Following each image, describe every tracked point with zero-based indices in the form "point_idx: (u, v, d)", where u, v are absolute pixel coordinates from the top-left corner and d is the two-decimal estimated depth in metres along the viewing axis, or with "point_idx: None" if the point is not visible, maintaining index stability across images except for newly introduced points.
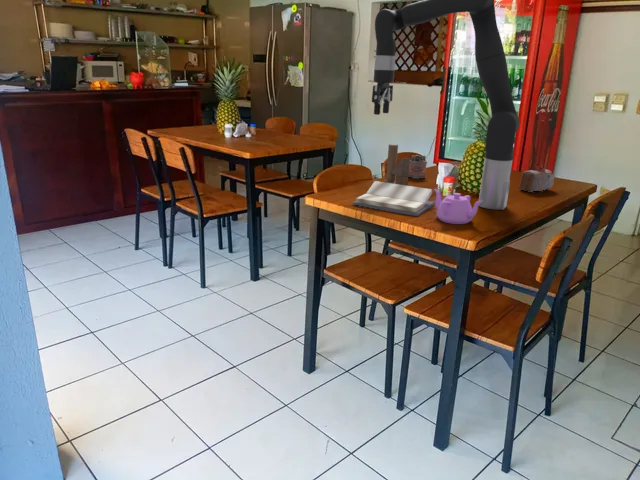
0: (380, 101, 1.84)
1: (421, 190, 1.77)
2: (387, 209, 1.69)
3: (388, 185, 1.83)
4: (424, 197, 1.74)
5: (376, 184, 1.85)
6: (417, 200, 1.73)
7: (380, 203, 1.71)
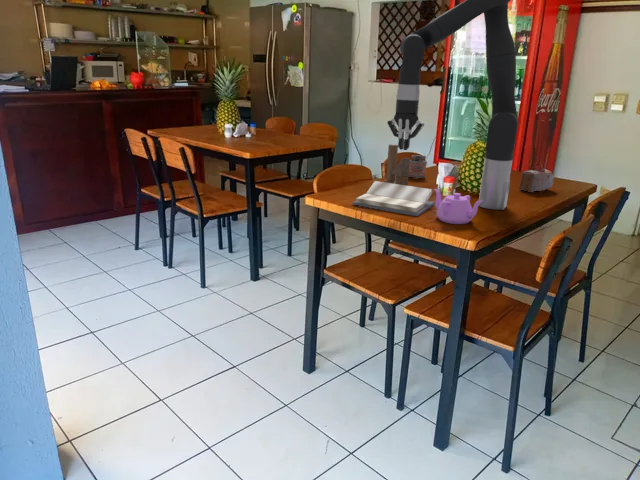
0: None
1: (421, 190, 1.77)
2: (387, 209, 1.69)
3: (388, 185, 1.83)
4: (424, 197, 1.74)
5: (376, 184, 1.85)
6: (417, 200, 1.73)
7: (380, 203, 1.71)
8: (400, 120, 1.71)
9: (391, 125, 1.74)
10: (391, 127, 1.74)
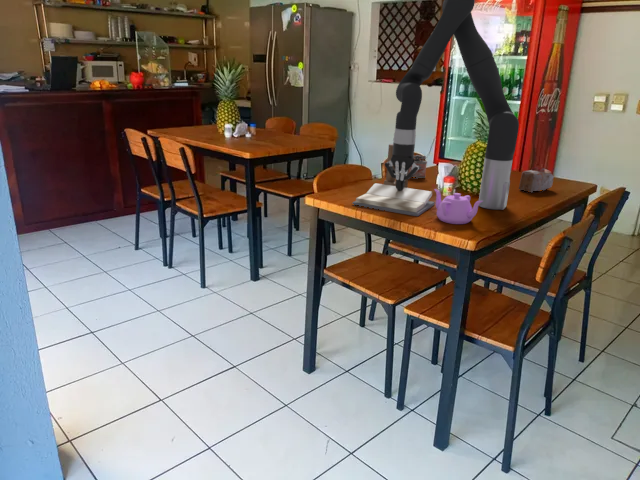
0: None
1: (421, 192, 1.77)
2: (387, 209, 1.69)
3: (388, 187, 1.83)
4: (424, 198, 1.74)
5: (376, 185, 1.85)
6: (417, 200, 1.73)
7: (380, 203, 1.71)
8: (397, 162, 1.76)
9: (388, 167, 1.79)
10: (388, 169, 1.79)
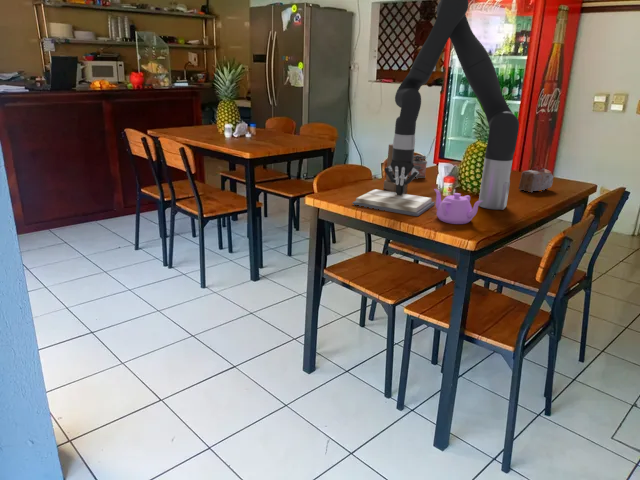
0: None
1: (421, 197, 1.78)
2: (387, 209, 1.69)
3: (388, 192, 1.84)
4: (424, 200, 1.74)
5: (376, 190, 1.86)
6: (417, 200, 1.73)
7: (380, 203, 1.71)
8: (396, 167, 1.77)
9: (388, 172, 1.79)
10: (388, 174, 1.80)
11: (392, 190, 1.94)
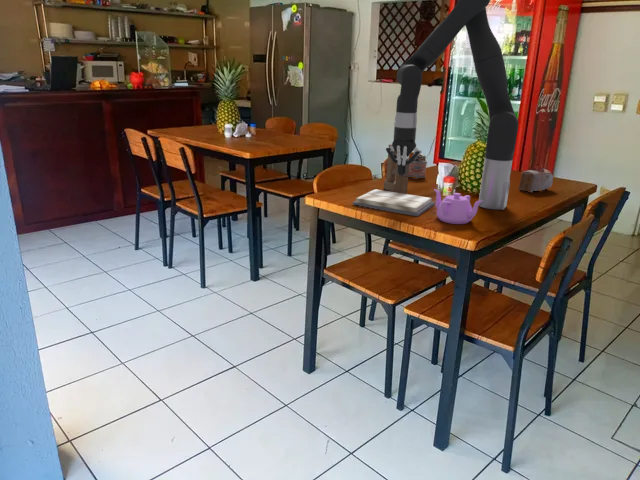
0: None
1: (421, 197, 1.78)
2: (387, 209, 1.69)
3: (388, 192, 1.84)
4: (424, 200, 1.74)
5: (376, 190, 1.86)
6: (417, 200, 1.73)
7: (380, 203, 1.71)
8: (398, 147, 1.74)
9: (390, 152, 1.76)
10: (390, 154, 1.76)
11: (392, 190, 1.94)
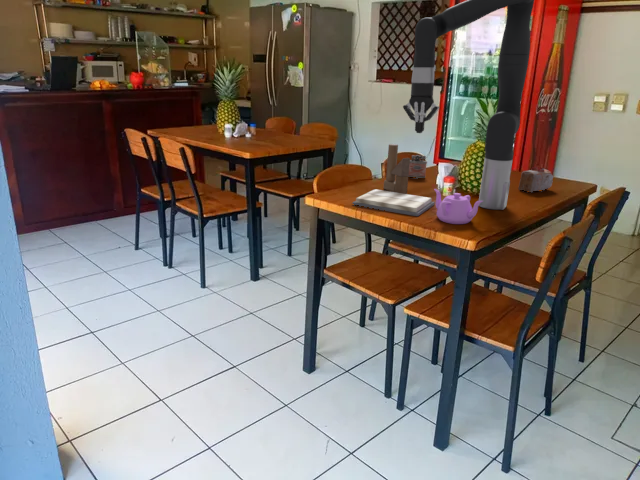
0: None
1: (421, 197, 1.78)
2: (387, 209, 1.69)
3: (388, 192, 1.84)
4: (424, 200, 1.74)
5: (376, 190, 1.86)
6: (417, 200, 1.73)
7: (380, 203, 1.71)
8: (416, 103, 1.72)
9: (407, 109, 1.75)
10: (407, 111, 1.75)
11: (392, 190, 1.94)
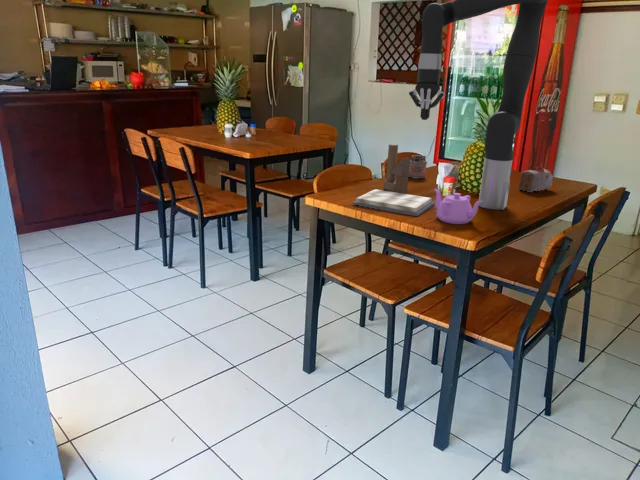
0: None
1: (421, 197, 1.78)
2: (387, 209, 1.69)
3: (388, 192, 1.84)
4: (424, 200, 1.74)
5: (376, 190, 1.86)
6: (417, 200, 1.73)
7: (380, 203, 1.71)
8: (422, 90, 1.72)
9: (413, 95, 1.75)
10: (413, 97, 1.75)
11: (392, 190, 1.94)
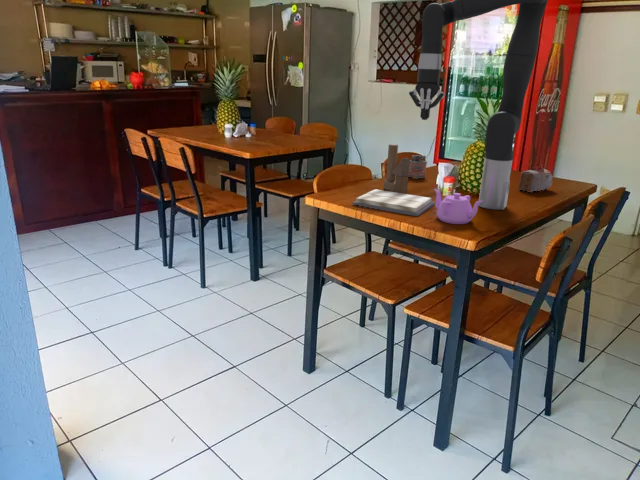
0: None
1: (421, 197, 1.78)
2: (387, 209, 1.69)
3: (388, 192, 1.84)
4: (424, 200, 1.74)
5: (376, 190, 1.86)
6: (417, 200, 1.73)
7: (380, 203, 1.71)
8: (422, 90, 1.72)
9: (413, 95, 1.75)
10: (413, 97, 1.75)
11: (392, 190, 1.94)
